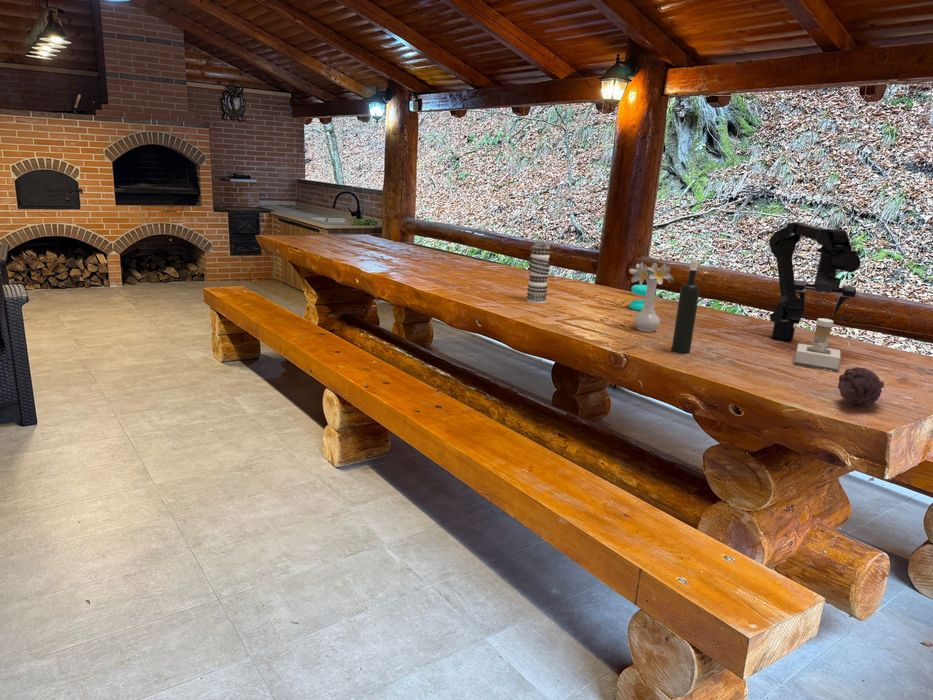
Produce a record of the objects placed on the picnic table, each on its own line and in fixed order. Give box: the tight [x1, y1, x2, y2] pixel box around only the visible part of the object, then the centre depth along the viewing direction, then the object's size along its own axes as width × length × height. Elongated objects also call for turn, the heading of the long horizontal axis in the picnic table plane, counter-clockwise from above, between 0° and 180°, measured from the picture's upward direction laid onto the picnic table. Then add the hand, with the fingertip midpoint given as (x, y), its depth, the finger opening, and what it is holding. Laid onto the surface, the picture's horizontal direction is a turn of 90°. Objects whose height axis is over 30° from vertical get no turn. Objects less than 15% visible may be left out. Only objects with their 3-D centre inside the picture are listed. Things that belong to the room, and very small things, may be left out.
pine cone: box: [837, 366, 885, 407], centre depth 165 cm, size 18×10×10 cm, turn 131°
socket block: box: [793, 343, 841, 372], centre depth 203 cm, size 12×12×4 cm
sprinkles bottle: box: [811, 317, 834, 354], centre depth 202 cm, size 5×5×14 cm
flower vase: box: [628, 262, 675, 333], centre depth 234 cm, size 13×18×25 cm
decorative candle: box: [526, 242, 551, 304], centre depth 276 cm, size 9×9×25 cm
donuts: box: [628, 284, 657, 312], centre depth 274 cm, size 10×10×10 cm
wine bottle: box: [671, 258, 700, 355], centre depth 206 cm, size 6×6×30 cm
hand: (818, 313), depth 217 cm, fingers open, 9 cm apart
